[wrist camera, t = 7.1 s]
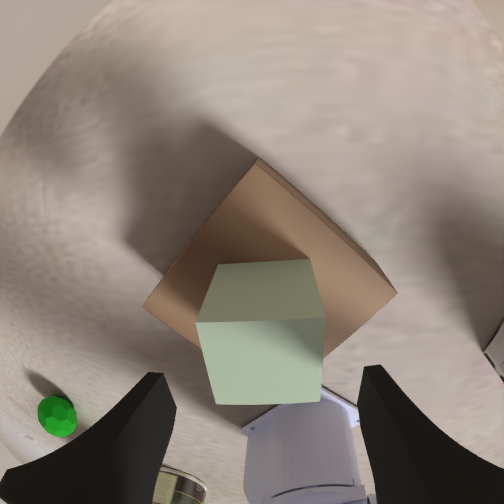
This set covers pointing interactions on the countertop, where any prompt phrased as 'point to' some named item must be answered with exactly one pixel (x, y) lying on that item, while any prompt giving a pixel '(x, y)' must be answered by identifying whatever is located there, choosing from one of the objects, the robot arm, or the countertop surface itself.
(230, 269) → the sage block
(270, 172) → the walnut block
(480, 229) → the countertop surface
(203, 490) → the coffee can
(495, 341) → the candy bar box
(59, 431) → the polyhedron
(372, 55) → the countertop surface
